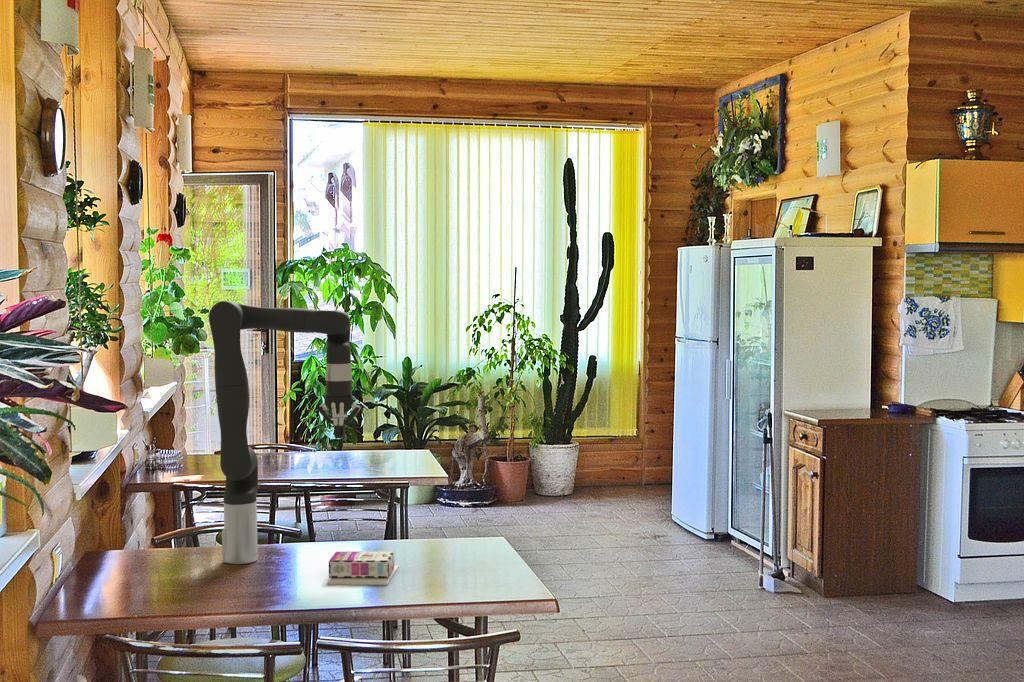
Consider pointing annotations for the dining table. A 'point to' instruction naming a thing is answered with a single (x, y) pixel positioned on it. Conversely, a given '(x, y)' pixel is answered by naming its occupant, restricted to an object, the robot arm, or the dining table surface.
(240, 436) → the robot arm
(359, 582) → the mat
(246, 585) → the dining table surface
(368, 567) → the candy bar box
